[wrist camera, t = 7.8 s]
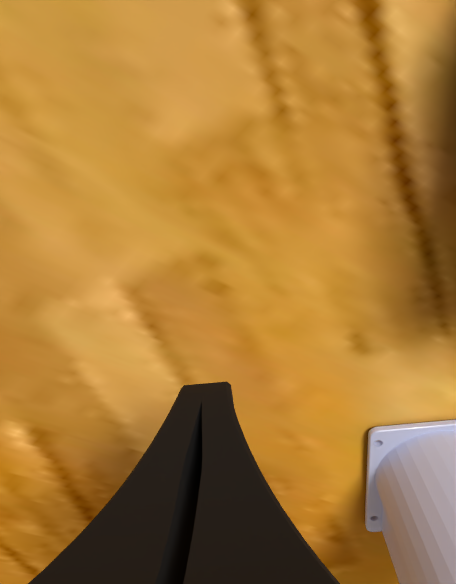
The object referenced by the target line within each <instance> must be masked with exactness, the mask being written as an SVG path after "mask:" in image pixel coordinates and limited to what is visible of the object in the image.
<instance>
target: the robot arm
mask: <svg viewBox="0 0 456 584" xmlns="http://www.w3.org/2000/svg"><path fill="white" fill-rule="evenodd" d="M378 440H379V441H378ZM365 526H366V529H367V530H368V531H370V532H379V531H382V532H383V535H384V538H385V541H386V544H387V547H388V550H389V553H390V556H391V559H392V562H393V565H394V568H395V571H396V574H397V577H398V580H399V583H400V584H456V420H446V421H435V422H424V423H412V424H401V425H390V426H379V427H374V428H372V429H371V430H370V431H369V433H368V454H367V480H366V507H365ZM28 584H340V583H339V582H338V581H337V580H336V578H335V577H334V576H333V575H332V574H331V573H330V571H329V570H328V569H327V568H326V566H325V565H324V564H323V563H322V562H321V560H320V559H319V558H318V557H317V555H316V554H315V553H314V551H313V550H312V549H311V547H310V546H309V545H308V544H307V542H306V541H305V540H304V538H303V537H302V535H301V534H300V533H299V531H298V530H297V528H296V527H295V525H294V524H293V523H292V521H291V520H290V518H289V517H288V515H287V514H286V513H285V511H284V510H283V508H282V507H281V505H280V503H279V502H278V500H277V499H276V497H275V495H274V494H273V492H272V490H271V489H270V487H269V485H268V483H267V482H266V480H265V478H264V476H263V475H262V473H261V471H260V469H259V467H258V465H257V463H256V461H255V459H254V457H253V455H252V453H251V451H250V449H249V446H248V444H247V442H246V440H245V437H244V435H243V432H242V430H241V427H240V425H239V422H238V419H237V416H236V413H235V409H234V404H233V397H232V390H231V385H230V384H229V383H228V382H218V383H207V384H195V385H184V386H183V387H182V388H181V390H180V392H179V394H178V396H177V398H176V400H175V402H174V404H173V406H172V408H171V410H170V412H169V414H168V416H167V417H166V419H165V421H164V423H163V425H162V426H161V428H160V430H159V431H158V433H157V435H156V436H155V438H154V440H153V441H152V443H151V444H150V446H149V448H148V449H147V451H146V452H145V454H144V455H143V456H142V458H141V459H140V461H139V462H138V464H137V465H136V467H135V468H134V470H133V471H132V473H131V474H130V475H129V477H128V478H127V479H126V481H125V482H124V483H123V485H122V486H121V487H120V488H119V490H118V491H117V492H116V493H115V495H114V496H113V497H112V498H111V500H110V501H109V502H108V503H107V504H106V506H105V507H104V508H103V509H102V510H101V511H100V512H99V514H98V515H97V516H96V517H95V518H94V519H93V520H92V522H91V523H90V524H89V525H88V526H87V527H86V528H85V529H84V530H83V531H82V532H81V533H80V535H79V536H78V537H77V538H76V539H75V540H74V541H73V542H72V543H71V544H70V545H69V546H67V547H66V548H65V549H64V550H63V551H62V552H61V553H60V554H59V555H58V556H57V557H56V558H55V559H54V560H53V561H52V562H51V563H50V564H49V565H48V566H47V567H46V568H45V569H44V570H43V571H42V572H41V573H40V574H38V575H37V576H36V577H35V578H34V579H33V580H32V581H30V582H29V583H28Z"/></svg>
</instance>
